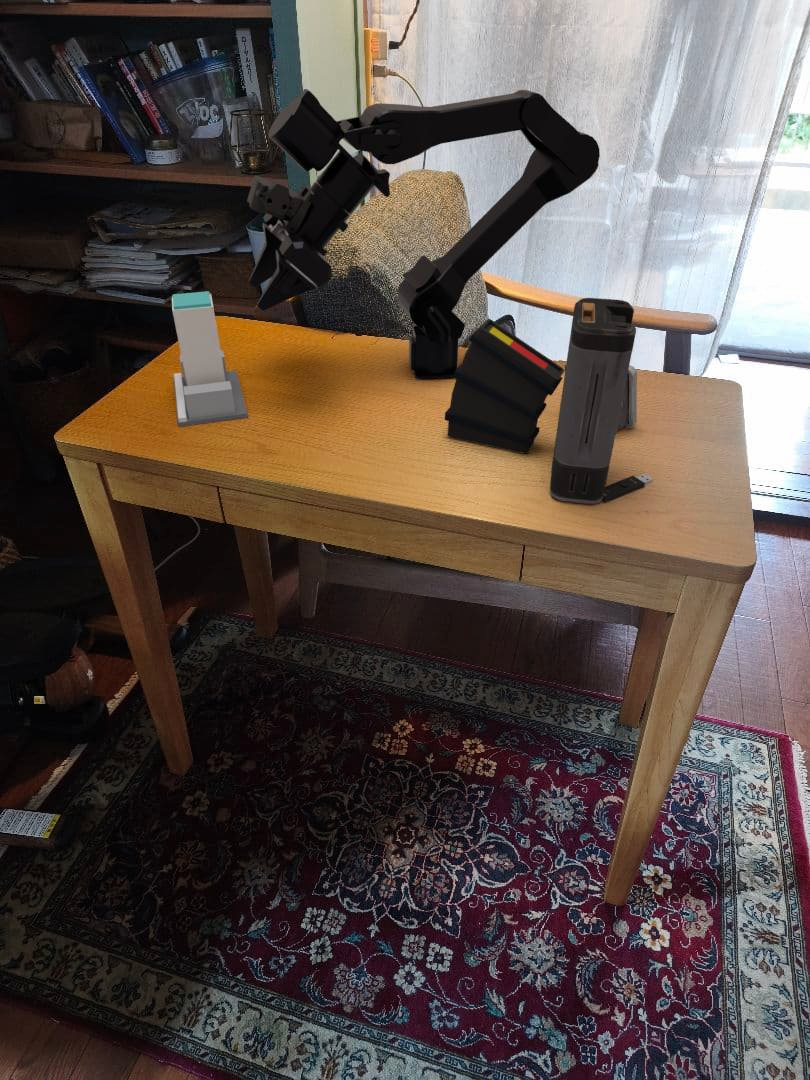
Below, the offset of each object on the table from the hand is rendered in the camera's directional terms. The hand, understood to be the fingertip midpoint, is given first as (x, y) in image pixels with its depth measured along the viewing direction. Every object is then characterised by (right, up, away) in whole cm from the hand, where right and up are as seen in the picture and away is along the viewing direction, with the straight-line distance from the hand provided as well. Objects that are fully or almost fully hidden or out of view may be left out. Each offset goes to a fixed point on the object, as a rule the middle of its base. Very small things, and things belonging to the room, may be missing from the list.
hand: (255, 296), depth 95 cm
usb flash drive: (+45, -26, -11) cm, 53 cm away
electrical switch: (+45, -16, +1) cm, 48 cm away
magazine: (+31, -20, -3) cm, 37 cm away
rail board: (-8, -12, +6) cm, 16 cm away
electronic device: (+39, -25, -10) cm, 48 cm away
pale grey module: (-8, -12, +6) cm, 15 cm away
